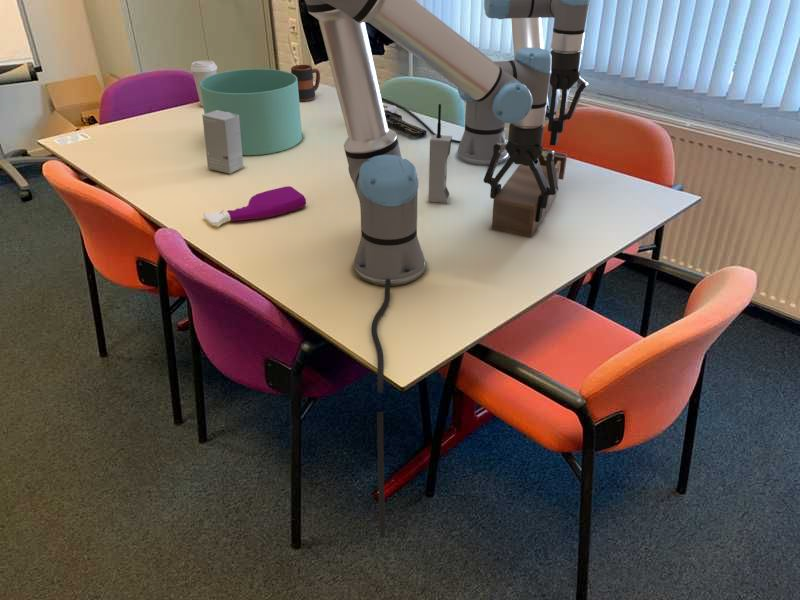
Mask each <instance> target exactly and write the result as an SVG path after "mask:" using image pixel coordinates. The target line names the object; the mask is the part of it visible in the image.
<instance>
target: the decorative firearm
mask: <svg viewBox="0 0 800 600" xmlns="http://www.w3.org/2000/svg"><path fill="white" fill-rule="evenodd" d="M383 108H384V112H385V117H386V121H387V126H388V127H391V128H393V129H395V130H397V131H399V132H401V133H404V134H406V135H408V136H411V137H415V138H416V137H419V138H424V137H426V136H427V132H428V130H427V129H423V128H421V127H420V126H416V125H413V124H411V123H409V122H406V121H405V120H403V115H401V114H399V113H397V110H398V107H397V106H395V105H393V104H390V103H389V104H388V103H385V104H383Z"/></svg>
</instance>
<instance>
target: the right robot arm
mask: <svg viewBox="0 0 800 600" xmlns="http://www.w3.org/2000/svg"><path fill="white" fill-rule="evenodd" d="M590 1H591V0H484V1H483V6H484V7H483V8H484V14H485V16H486V17H487V18H488V19H496V20H505V19H511V33H512V43H513V58H514V59H513V60H515V56H516V52H517V51H518V50H519V49H522V48H529V47H533V48H542V49H545V47H544V36H543V35H544V34H543V23H542V22H543V21H542V19H543V18H544V19H548V18H554V19H553V27H552V35H551V43H550V49H552V50H550V51H549V52H550V53H551V56H552V59H551V62H552V64H551V75H550V81H549V88H548V95H547V104H546V105H547V106H546V114H545V121H548V124H547V131H548V132H550V139H549V146H554V147H555V146H557V144H558V143H559V136H560V134H562V133H563V131H564V128H565V122H566V121H567V120H568V121H569V120H571V118H572V117H573V116H574V114H575V111H576V109H577V106H578V103H579V101H580V99H581V97H582V95H583V92H584V90H585V89H586V88H587V86H588V85H589V82H588V81H587V80H584V78H582V77H581V72H580V69H581V67H580V66H581V60H582V52H581V50H583V48H584V47H583V46H584V41H585V40H584V39H585V33H586V26H587V21H588V19H587V18H588V13H589V6H590ZM576 83H577V84H576ZM575 84H576V88H577V89H576V91H575V93H574V96H573V98H572V100H571V103H570V105H569V108H568V103H569V95H570V91H571V88H572V87H573V86H574V85H575ZM560 94H561V96H560ZM560 97H561V98H560ZM381 99H382V102H383V101H384V102H386V103H387V104H388V103H389V104H390V105H394V106H396V107H397V108H399V109H401V110H403V111H404V112H406V113H408V114H409V115H410V116H411V117H413V118H414V119H415V120H417V122H419V123H420V124H421V125H422V126H423V127H424V128H425V129H426V130H427V131H429V133H430V134H431V136H433V135H437V133H435V132H434V131H433V130H432V129H431V127H429V126H428V125H427V124H426V123H425V122H424V121H423V120H422V119H420V118H419V117H418V116H417V115H415V114H414V113H413V112H412V111H410V110H408V109H407V108H405V107H403V106H402V105H400V104H398V103H397V102H394V101H392V100H389V99H387V98H384V97H381ZM560 99H561V100H560ZM559 102H560V107H559V114H558V117H556V116H557V109H558V106H559ZM567 110H568V111H567ZM505 124H506V123H505V122H503V121H501V120H499V119H498V118H496V117H495V116H494V114H493V113H492V112H490V111H489V110H488V109H486V108H485V107H484V106H482V105H481V104H479V103H478V102H477V101H465V118H464V132H463V134H462V136H461V139H460V140H457V139H453V138H452V140H451V143H454V144H455V143H456V144H458V146H457V153H456V154H457V156H456V157H457V158H458V159H459V160H460V161H462V162H464V163H466V164H471V165H477V166H489V164H490V162H491V159H492V156H493V147H494V145H495V144H496V143H497V142H498V141H500V142H501V143H505V144H507V140H506V134H505ZM508 159H509V154H508V153H507V151H506V149H504V151H503V152H502V153H501V155H500V158H499V160H498V163H497V165H499V164H502V163H504V162H507V160H508Z"/></svg>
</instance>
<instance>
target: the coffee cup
mask: <svg viewBox="0 0 800 600" xmlns="http://www.w3.org/2000/svg"><path fill="white" fill-rule="evenodd" d="M189 70H190V71H191V72H192V76H193V80H194V84H195V88H196V91H197V92H196V93H197V96H198V99H199V103H200V106H201V107H202V108H203V102H202V96H201V90H200V82H201V81H202V80H203V79H204V78H206V77H208V76H211V75H214V74H217V73H218V72H217V70H218V65H217V64H216V62H215V61H214V60H210V59H209V60H207V59H206V60H196V61H193V62H192V63H191V65H190V69H189Z"/></svg>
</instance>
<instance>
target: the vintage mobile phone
mask: <svg viewBox="0 0 800 600" xmlns="http://www.w3.org/2000/svg"><path fill="white" fill-rule="evenodd" d="M437 111H438V112H437V127H436V129H437V130H436V134H437V135H431V138H430V140H429V161H428V162H429V163H428V164H429V165H428V197H427V198H428V201H427V202H431V203H441V204H448V201H449V198H450V192H449V189H448V188H447V174H448V173H447V172H448V160H449V156H450V155H451V154H450V153H451V146H452V142H451V140H452V139H453V136H452V135H443V134H442V133H441V132H442V122H441V118H442V104H441V103H439V104H438V110H437Z"/></svg>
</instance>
